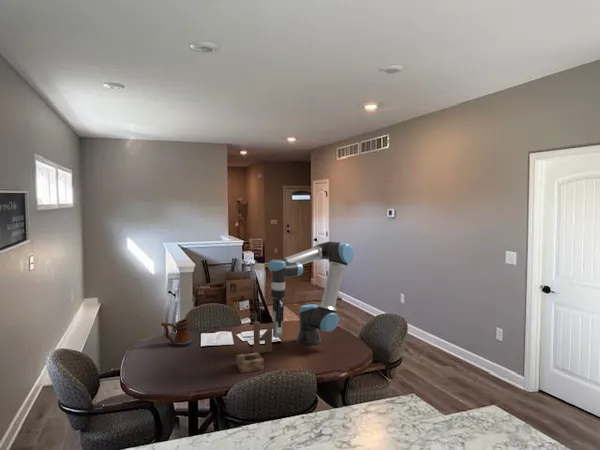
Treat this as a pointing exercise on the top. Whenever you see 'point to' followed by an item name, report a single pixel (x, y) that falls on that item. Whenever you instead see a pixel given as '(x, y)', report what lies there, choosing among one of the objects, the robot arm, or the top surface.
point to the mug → (179, 333)
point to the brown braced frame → (262, 339)
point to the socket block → (250, 362)
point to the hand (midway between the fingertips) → (277, 331)
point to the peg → (275, 325)
